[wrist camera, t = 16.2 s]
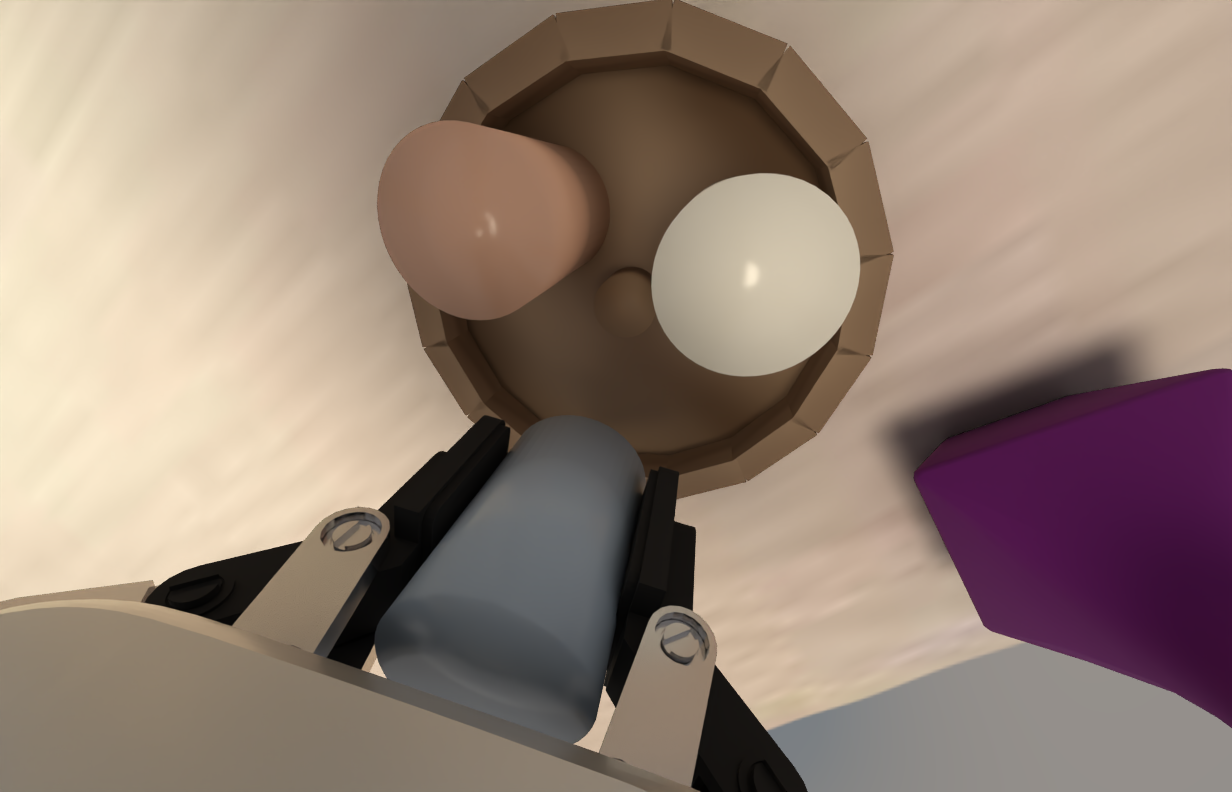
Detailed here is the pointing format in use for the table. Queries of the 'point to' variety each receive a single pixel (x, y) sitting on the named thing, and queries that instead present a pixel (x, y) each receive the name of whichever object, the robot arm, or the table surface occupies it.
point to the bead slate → (526, 583)
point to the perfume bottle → (1103, 529)
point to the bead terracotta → (488, 216)
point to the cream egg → (755, 274)
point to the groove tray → (660, 235)
